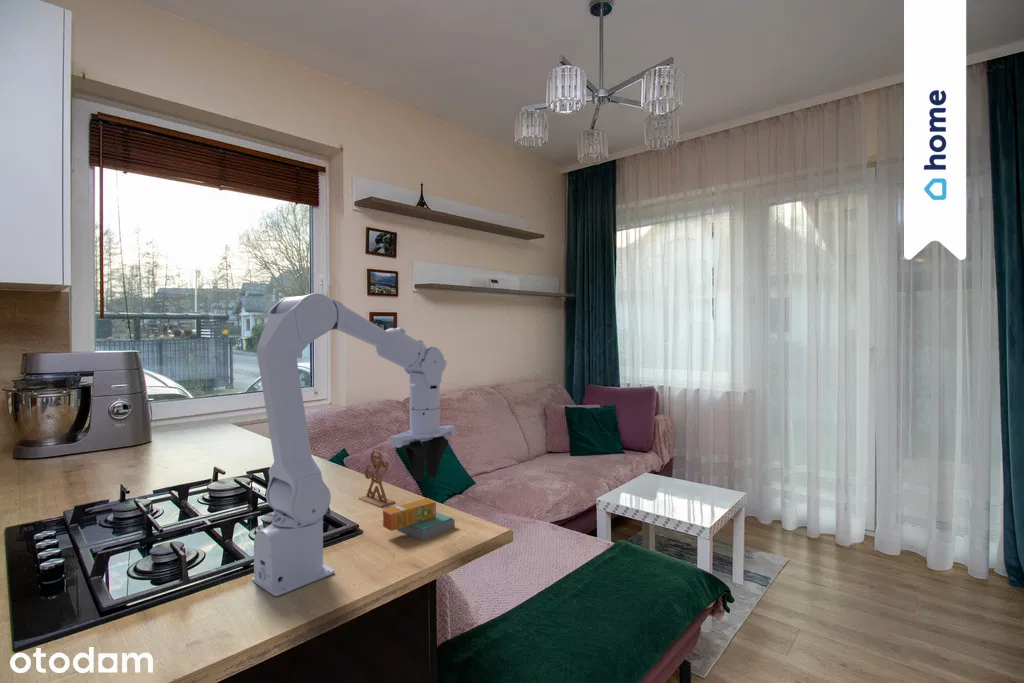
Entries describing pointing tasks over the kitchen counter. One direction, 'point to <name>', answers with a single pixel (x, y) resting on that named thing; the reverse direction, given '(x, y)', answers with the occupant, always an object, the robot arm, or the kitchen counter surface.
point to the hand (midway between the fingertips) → (425, 478)
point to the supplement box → (409, 514)
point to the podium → (430, 527)
